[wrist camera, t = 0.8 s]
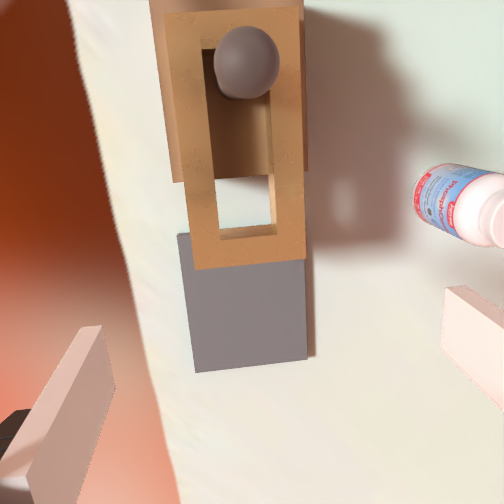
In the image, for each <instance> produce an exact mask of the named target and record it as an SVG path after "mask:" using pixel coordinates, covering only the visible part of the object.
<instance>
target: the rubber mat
mask: <svg viewBox="0 0 504 504" xmlns="http://www.w3.org/2000/svg"><path fill="white" fill-rule="evenodd" d="M177 240H178V248H179V255H180V263H181V270H182V277H183V285H184V292H185V299H186V307H187V314H188V322H189V329H190V336H191V344H192V351H193V358H194V366H195V373H200V372H208V371H216V370H224V369H233V368H241V367H249V366H257V365H266V364H274V363H282V362H291V361H299V360H307V359H308V358H307V327H306V296H305V265H304V259H299V260H289V261H279V262H270V263H260V264H250V265H240V266H231V267H221V268H211V269H201V270H195V268H194V260H193V252H192V244H191V236H190V233H179V234H177Z"/></svg>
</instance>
